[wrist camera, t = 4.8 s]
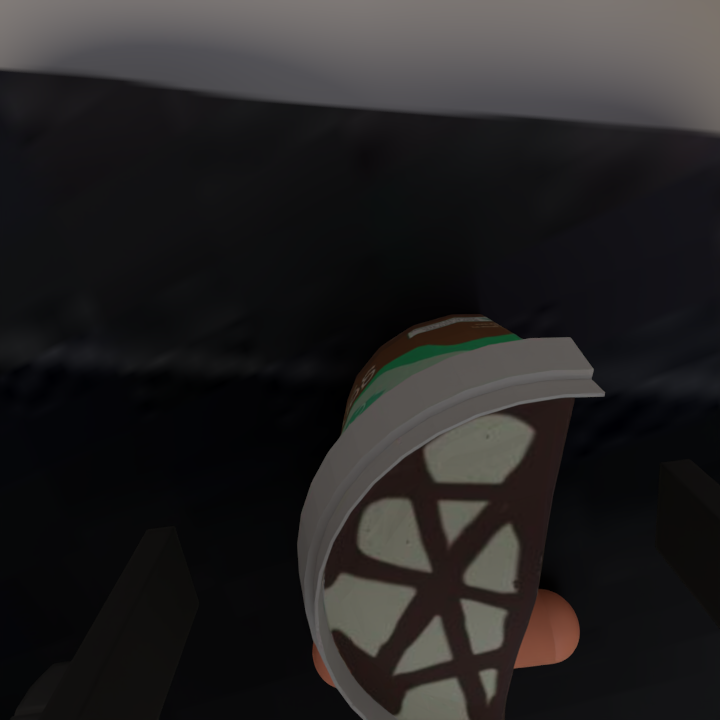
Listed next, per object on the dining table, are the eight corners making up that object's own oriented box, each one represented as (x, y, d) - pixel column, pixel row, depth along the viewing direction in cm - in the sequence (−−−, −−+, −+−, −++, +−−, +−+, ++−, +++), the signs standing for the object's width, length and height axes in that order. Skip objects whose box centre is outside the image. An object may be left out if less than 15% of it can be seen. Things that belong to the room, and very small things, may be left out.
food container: (323, 264, 19) (297, 348, 10) (486, 275, 20) (611, 367, 10) (309, 538, 24) (282, 782, 14) (445, 545, 24) (508, 788, 14)
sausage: (320, 650, 26) (316, 709, 23) (309, 603, 25) (304, 658, 22) (564, 619, 25) (591, 675, 23) (563, 570, 24) (591, 622, 22)
